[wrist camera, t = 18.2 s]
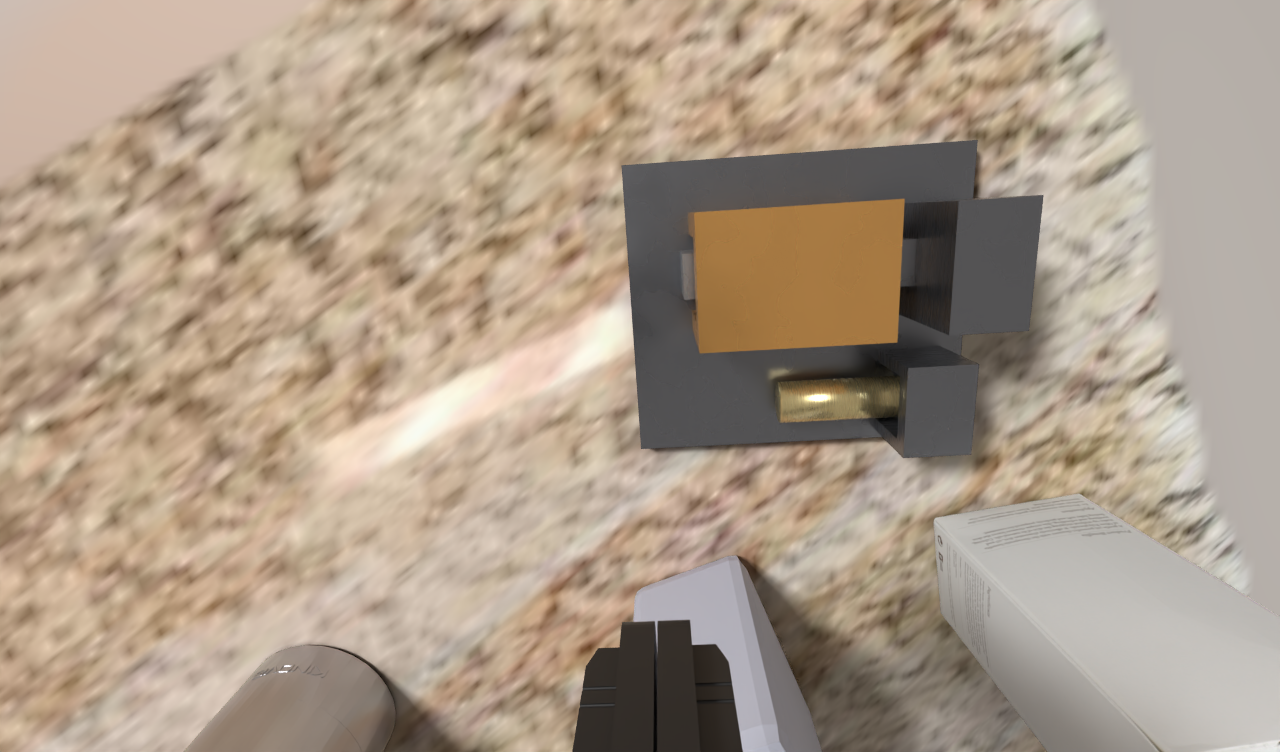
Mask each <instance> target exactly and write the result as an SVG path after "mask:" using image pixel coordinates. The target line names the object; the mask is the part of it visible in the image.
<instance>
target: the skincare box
mask: <svg viewBox="0 0 1280 752" xmlns="http://www.w3.org/2000/svg"><path fill="white" fill-rule="evenodd" d="M934 533H935V547H936V561H937V574H938V585H939V597H940V610H941V614H942V615H943V617H944V618H945V619H946V621H947V622H948V623H949V624H950V626H951V627H952V628H953V629H954V630H955V632H956V633H957V635H958V636H959V637H960V639H961V640H962V641H963V643H964V644H965V645H966V646H967V648H968V649H969V650H970V652H971V653H972V654H973V655H974V657H975V658H976V659H977V661H978V662H979V663H980V665H981V666H982V667H983V668H984V670H985V671H986V672H987V674H988V675H989V676H990V678H991V679H992V680H993V682H994V683H995V684H996V686H997V687H998V688H999V689H1000V691H1001V692H1002V693H1003V695H1004V696H1005V697H1006V699H1007V700H1008V701H1009V702H1010V704H1011V705H1012V706H1013V708H1014V709H1015V710H1016V711H1017V713H1018V714H1019V715H1020V717H1021V718H1022V719H1023V720H1024V722H1025V723H1026V724H1027V726H1028V727H1029V728H1030V729H1031V731H1032V732H1033V733H1034V735H1035V736H1036V737H1037V739H1038V740H1039V741H1040V743H1041V744H1042V745H1043V746H1044V748H1045V749H1046V750H1047V752H1280V616H1278V615H1277V614H1275V613H1274V612H1272V611H1271V610H1269V609H1267V608H1266V607H1264V606H1263V605H1261V604H1259V603H1258V602H1256V601H1254V600H1253V599H1251V598H1249V597H1248V596H1246V595H1244V594H1243V593H1241V592H1239V591H1238V590H1236V589H1235V588H1233V587H1231V586H1230V585H1228V584H1226V583H1225V582H1223V581H1221V580H1220V579H1218V578H1216V577H1215V576H1213V575H1211V574H1210V573H1208V572H1207V571H1205V570H1203V569H1202V568H1200V567H1199V566H1197V565H1195V564H1194V563H1192V562H1190V561H1189V560H1187V559H1185V558H1184V557H1182V556H1180V555H1179V554H1177V553H1175V552H1174V551H1172V550H1170V549H1169V548H1167V547H1166V546H1164V545H1162V544H1161V543H1159V542H1157V541H1156V540H1154V539H1152V538H1151V537H1149V536H1148V535H1146V534H1144V533H1143V532H1141V531H1140V530H1138V529H1136V528H1135V527H1133V526H1131V525H1130V524H1128V523H1126V522H1125V521H1123V520H1121V519H1120V518H1118V517H1116V516H1115V515H1113V514H1112V513H1110V512H1108V511H1107V510H1105V509H1103V508H1102V507H1100V506H1099V505H1097V504H1095V503H1094V502H1092V501H1090V500H1089V499H1087V498H1085V497H1084V496H1082V495H1081V494H1073V495H1068V496H1062V497H1056V498H1050V499H1043V500H1037V501H1031V502H1025V503H1019V504H1013V505H1007V506H1001V507H995V508H989V509H983V510H977V511H972V512H966V513H960V514H954V515H948V516H943V517H937V518H935V519H934Z"/></svg>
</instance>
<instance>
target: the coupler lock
mask: <svg viewBox="0 0 1280 752" xmlns="http://www.w3.org/2000/svg"><path fill="white" fill-rule="evenodd" d="M904 202H905V199H892V200H875V201H858V202H843V203H828V204H812V205H797V206H782V207H767V208H752V209H737V210H721V211H706V212H691V213H688V226H689V235H690V236H692V237H693V249H694V274H695V299H696V310H692V324H693V333H694V336H695V340H696V343H697V346H698V350H699V353H717V352H735V351H753V350H772V349H790V348H808V347H826V346H844V345H862V344H880V343H897V340H898V321H899V301H900V281H901V261H902V242H903V222H904Z"/></svg>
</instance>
